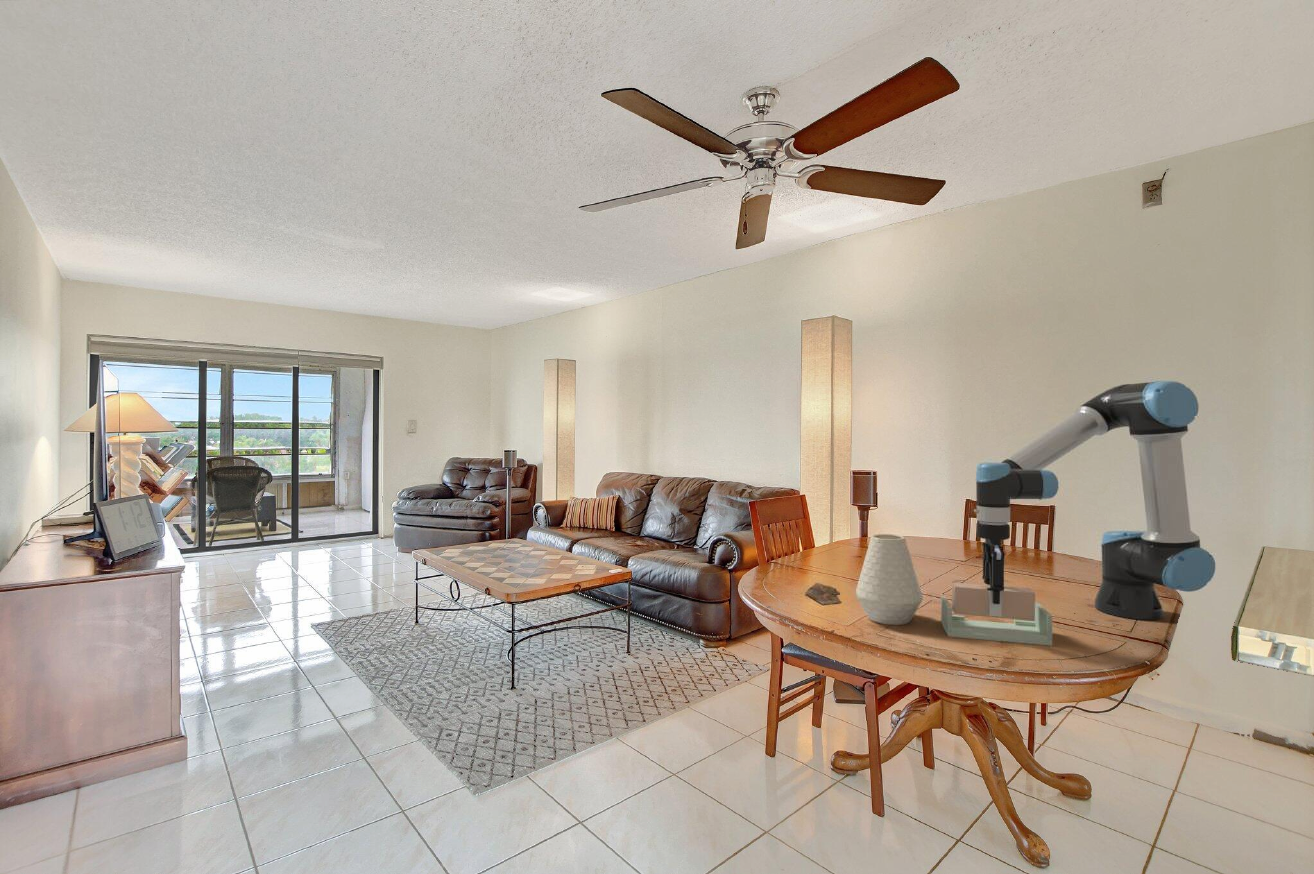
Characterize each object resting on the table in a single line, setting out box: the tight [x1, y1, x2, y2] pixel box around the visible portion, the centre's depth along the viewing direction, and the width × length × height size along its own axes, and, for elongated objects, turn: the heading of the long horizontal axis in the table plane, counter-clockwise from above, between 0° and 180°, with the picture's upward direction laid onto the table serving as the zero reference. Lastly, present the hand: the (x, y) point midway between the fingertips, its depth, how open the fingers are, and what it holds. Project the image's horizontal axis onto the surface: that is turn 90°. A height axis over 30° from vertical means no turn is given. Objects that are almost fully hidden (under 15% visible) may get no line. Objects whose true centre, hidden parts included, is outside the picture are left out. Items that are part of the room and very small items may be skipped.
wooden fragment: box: [804, 582, 842, 606], centre depth 190 cm, size 26×11×1 cm, turn 166°
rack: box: [940, 595, 1053, 646], centre depth 152 cm, size 23×12×7 cm, turn 72°
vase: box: [855, 533, 924, 626], centre depth 164 cm, size 17×17×23 cm
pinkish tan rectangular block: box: [951, 582, 1036, 621], centre depth 152 cm, size 18×4×7 cm, turn 71°
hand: (992, 612), depth 152 cm, fingers closed on pinkish tan rectangular block, 4 cm apart
